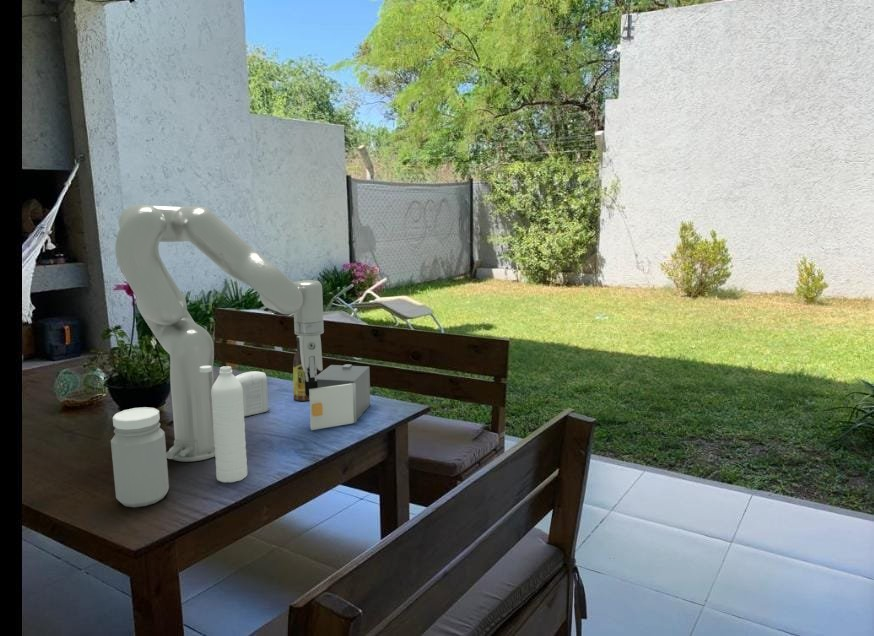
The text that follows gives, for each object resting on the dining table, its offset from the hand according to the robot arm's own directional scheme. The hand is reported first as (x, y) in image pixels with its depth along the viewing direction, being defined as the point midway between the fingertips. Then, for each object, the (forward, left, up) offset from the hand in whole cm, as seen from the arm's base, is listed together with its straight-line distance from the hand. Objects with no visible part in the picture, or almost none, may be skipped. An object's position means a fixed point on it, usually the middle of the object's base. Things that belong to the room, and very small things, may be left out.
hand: (311, 394), depth 164 cm
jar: (-45, +20, -10) cm, 50 cm away
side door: (+1, -6, -9) cm, 11 cm away
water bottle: (-33, +8, -10) cm, 35 cm away
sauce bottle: (+24, +12, -10) cm, 29 cm away
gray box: (+13, -4, -9) cm, 17 cm away
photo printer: (+8, +22, -10) cm, 25 cm away
